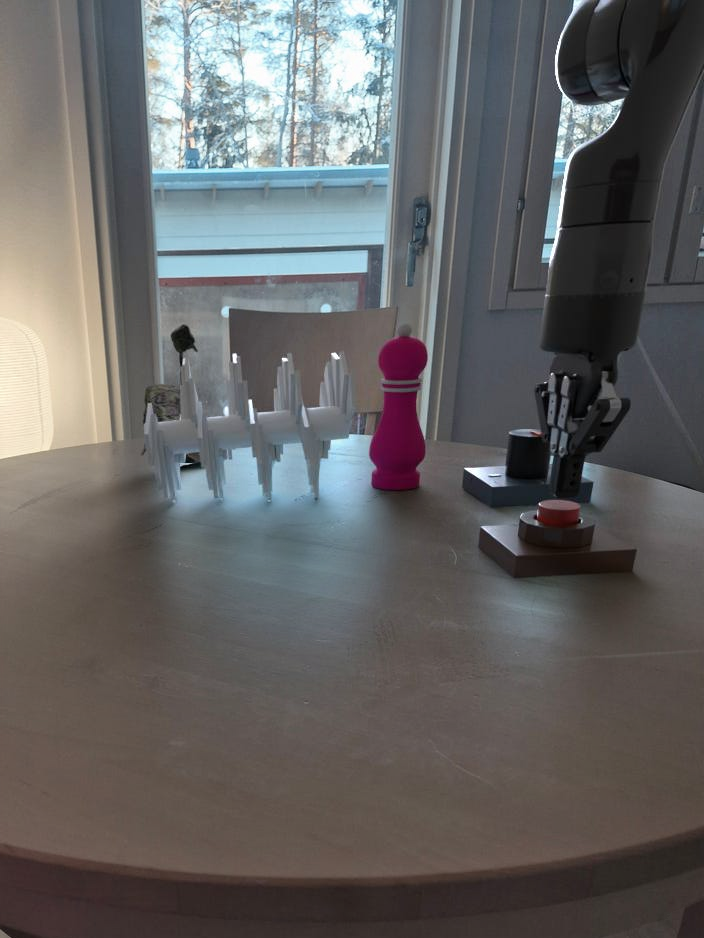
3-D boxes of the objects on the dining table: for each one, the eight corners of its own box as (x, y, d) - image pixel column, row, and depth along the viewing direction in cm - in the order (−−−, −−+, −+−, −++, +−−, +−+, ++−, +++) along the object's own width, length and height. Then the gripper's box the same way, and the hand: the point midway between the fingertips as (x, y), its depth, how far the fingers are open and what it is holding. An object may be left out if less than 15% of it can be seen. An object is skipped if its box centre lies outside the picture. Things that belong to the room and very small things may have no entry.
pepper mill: (357, 486, 99) (363, 324, 90) (386, 475, 104) (394, 320, 95) (404, 494, 94) (416, 324, 86) (433, 482, 99) (446, 320, 90)
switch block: (584, 541, 75) (591, 503, 74) (632, 572, 67) (641, 529, 66) (477, 547, 75) (482, 508, 73) (513, 578, 67) (519, 536, 65)
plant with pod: (143, 461, 119) (132, 325, 110) (214, 457, 119) (208, 322, 110) (140, 472, 111) (128, 328, 103) (216, 468, 112) (209, 325, 103)
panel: (552, 482, 97) (555, 462, 96) (590, 502, 88) (594, 480, 87) (461, 487, 96) (463, 466, 95) (490, 508, 87) (493, 485, 86)
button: (566, 516, 71) (569, 498, 71) (584, 527, 68) (588, 508, 67) (529, 518, 71) (532, 500, 70) (546, 529, 68) (549, 511, 67)
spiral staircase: (161, 521, 101) (344, 506, 100) (142, 497, 84) (363, 478, 83) (150, 389, 101) (333, 372, 100) (129, 337, 84) (350, 315, 83)
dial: (497, 470, 93) (502, 427, 91) (535, 468, 93) (542, 425, 91) (515, 480, 89) (521, 435, 86) (555, 477, 89) (562, 432, 87)
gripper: (689, 286, 55) (643, 513, 63) (598, 286, 67) (568, 476, 75) (590, 291, 55) (555, 518, 62) (517, 290, 67) (495, 481, 74)
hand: (562, 495), depth 68 cm, fingers closed
